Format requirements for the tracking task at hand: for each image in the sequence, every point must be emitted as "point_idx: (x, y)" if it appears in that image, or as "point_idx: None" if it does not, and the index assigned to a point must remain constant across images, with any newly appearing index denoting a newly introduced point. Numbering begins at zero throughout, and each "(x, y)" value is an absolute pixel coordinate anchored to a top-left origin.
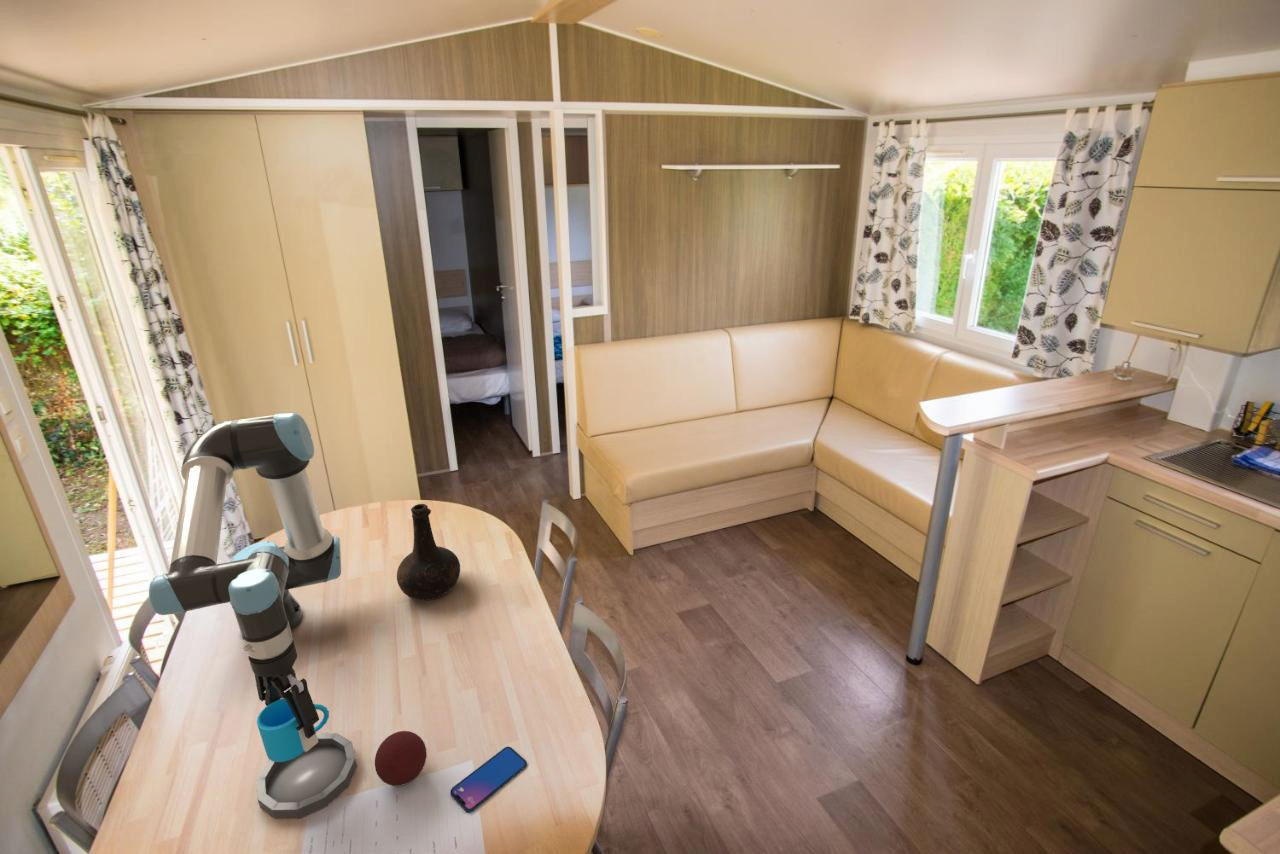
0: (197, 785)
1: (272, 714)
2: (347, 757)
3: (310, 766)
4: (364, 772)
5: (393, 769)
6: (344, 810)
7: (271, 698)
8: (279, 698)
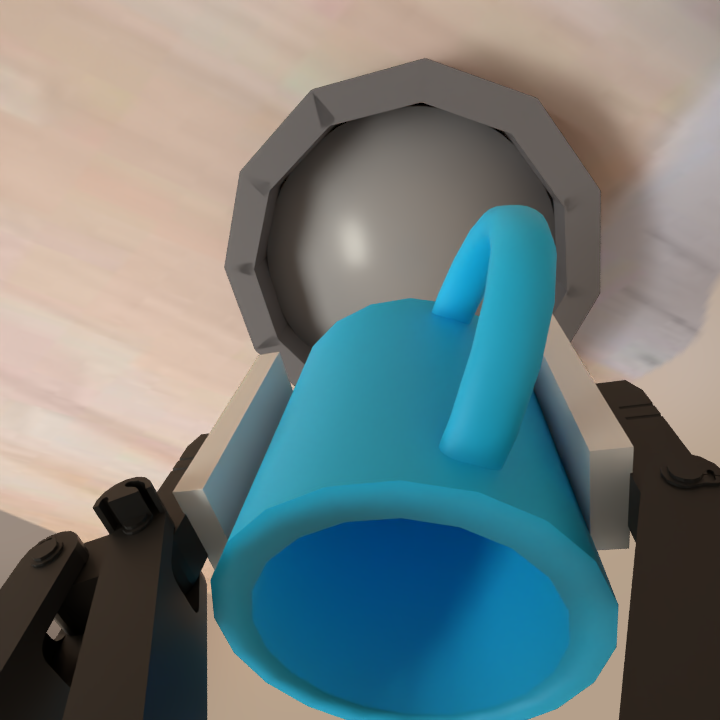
0: None
1: (282, 563)
2: (499, 125)
3: (371, 244)
4: (583, 88)
5: None
6: (662, 240)
7: (197, 665)
8: (169, 525)
